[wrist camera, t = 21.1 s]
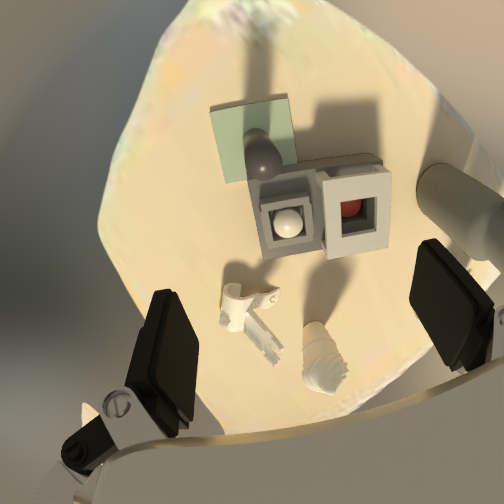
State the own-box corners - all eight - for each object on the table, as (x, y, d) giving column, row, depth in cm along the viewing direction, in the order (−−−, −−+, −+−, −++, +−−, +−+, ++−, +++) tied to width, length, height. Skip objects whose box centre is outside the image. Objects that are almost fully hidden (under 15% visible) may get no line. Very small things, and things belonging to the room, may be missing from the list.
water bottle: (422, 154, 37) (561, 250, 14) (462, 164, 38) (584, 252, 14) (408, 212, 43) (515, 333, 19) (448, 217, 43) (547, 320, 20)
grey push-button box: (370, 152, 37) (394, 167, 31) (371, 225, 44) (390, 250, 37) (246, 171, 38) (248, 189, 32) (261, 245, 45) (265, 274, 38)
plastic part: (223, 281, 48) (221, 333, 38) (282, 287, 49) (291, 338, 40) (219, 313, 52) (217, 364, 42) (272, 318, 53) (279, 368, 43)
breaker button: (353, 182, 39) (361, 189, 37) (354, 206, 41) (361, 214, 39) (328, 186, 39) (335, 193, 37) (330, 210, 42) (336, 219, 39)
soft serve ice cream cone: (328, 340, 58) (346, 404, 44) (289, 342, 57) (301, 410, 44) (337, 312, 53) (361, 380, 40) (295, 314, 53) (311, 386, 39)
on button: (298, 203, 37) (301, 209, 35) (301, 227, 38) (304, 235, 37) (270, 208, 37) (272, 215, 35) (274, 232, 39) (276, 240, 37)
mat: (286, 98, 33) (287, 98, 33) (297, 169, 38) (298, 170, 38) (209, 112, 34) (209, 112, 33) (226, 182, 39) (225, 183, 38)
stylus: (266, 125, 34) (279, 142, 24) (271, 150, 36) (285, 177, 26) (240, 130, 35) (241, 149, 24) (245, 155, 36) (248, 184, 26)
